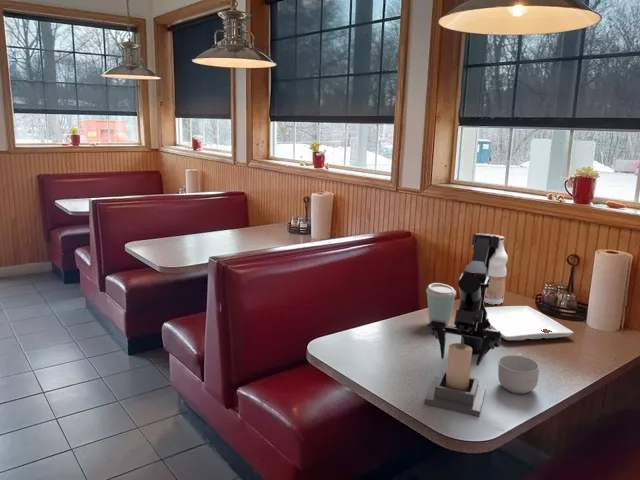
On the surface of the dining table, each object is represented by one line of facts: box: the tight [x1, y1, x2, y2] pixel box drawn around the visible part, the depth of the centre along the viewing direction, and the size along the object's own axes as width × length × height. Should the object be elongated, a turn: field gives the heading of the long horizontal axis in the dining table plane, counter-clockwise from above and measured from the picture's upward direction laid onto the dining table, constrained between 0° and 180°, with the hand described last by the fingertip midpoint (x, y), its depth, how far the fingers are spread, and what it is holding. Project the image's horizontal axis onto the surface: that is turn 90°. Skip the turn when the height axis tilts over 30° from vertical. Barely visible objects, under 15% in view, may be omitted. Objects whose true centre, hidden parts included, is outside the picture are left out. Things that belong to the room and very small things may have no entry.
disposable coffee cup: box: [425, 282, 457, 326], centre depth 191 cm, size 11×11×15 cm
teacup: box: [497, 352, 541, 395], centre depth 148 cm, size 14×11×8 cm
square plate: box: [485, 305, 574, 341], centre depth 193 cm, size 27×27×4 cm
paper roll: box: [445, 342, 473, 392], centre depth 140 cm, size 6×6×13 cm
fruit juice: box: [484, 235, 509, 305], centre depth 218 cm, size 9×9×28 cm
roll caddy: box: [424, 370, 487, 418], centre depth 141 cm, size 14×14×4 cm
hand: (459, 362), depth 140 cm, fingers open, 9 cm apart
